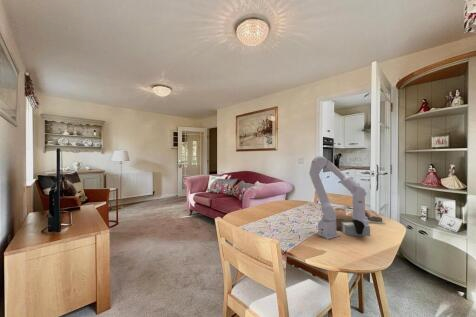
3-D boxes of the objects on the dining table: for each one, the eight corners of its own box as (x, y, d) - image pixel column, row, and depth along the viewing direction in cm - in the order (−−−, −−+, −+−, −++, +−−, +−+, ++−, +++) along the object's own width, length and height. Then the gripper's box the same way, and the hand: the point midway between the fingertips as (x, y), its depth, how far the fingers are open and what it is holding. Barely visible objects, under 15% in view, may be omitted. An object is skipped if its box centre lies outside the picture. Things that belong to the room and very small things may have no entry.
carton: (370, 235, 113) (369, 226, 113) (347, 235, 114) (346, 226, 114) (362, 230, 121) (362, 221, 121) (341, 230, 122) (340, 221, 122)
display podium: (367, 230, 121) (367, 218, 121) (335, 230, 122) (335, 218, 122) (362, 227, 126) (362, 215, 126) (332, 227, 128) (331, 216, 127)
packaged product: (360, 209, 150) (376, 210, 147) (360, 216, 150) (377, 216, 147) (367, 216, 133) (385, 217, 130) (367, 224, 133) (385, 225, 130)
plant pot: (341, 222, 137) (341, 211, 137) (332, 219, 143) (332, 208, 143) (348, 220, 140) (348, 209, 140) (339, 217, 146) (339, 207, 146)
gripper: (374, 212, 105) (375, 239, 105) (359, 205, 119) (360, 229, 119) (359, 212, 105) (360, 239, 105) (346, 205, 120) (347, 229, 120)
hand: (359, 234), depth 112 cm, fingers closed
